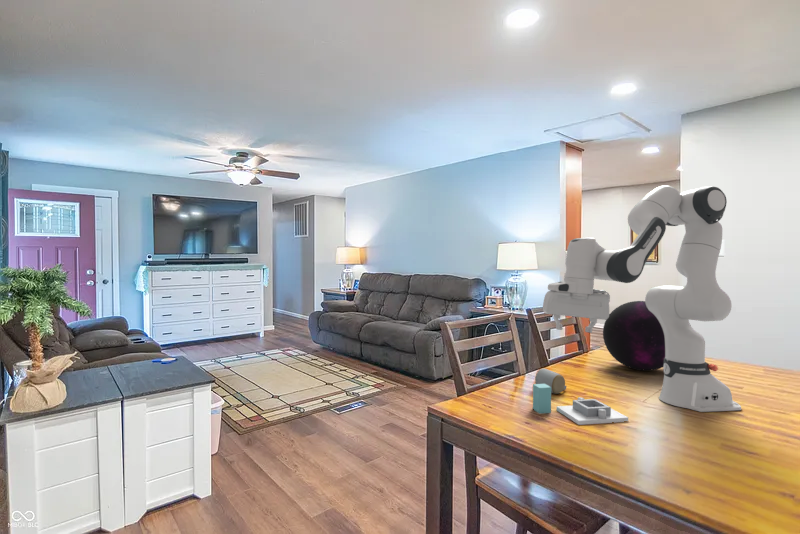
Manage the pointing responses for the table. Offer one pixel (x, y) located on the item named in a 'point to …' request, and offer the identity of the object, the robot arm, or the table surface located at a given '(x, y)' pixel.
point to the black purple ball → (635, 337)
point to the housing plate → (591, 412)
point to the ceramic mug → (551, 380)
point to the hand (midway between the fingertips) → (573, 331)
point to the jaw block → (542, 398)
